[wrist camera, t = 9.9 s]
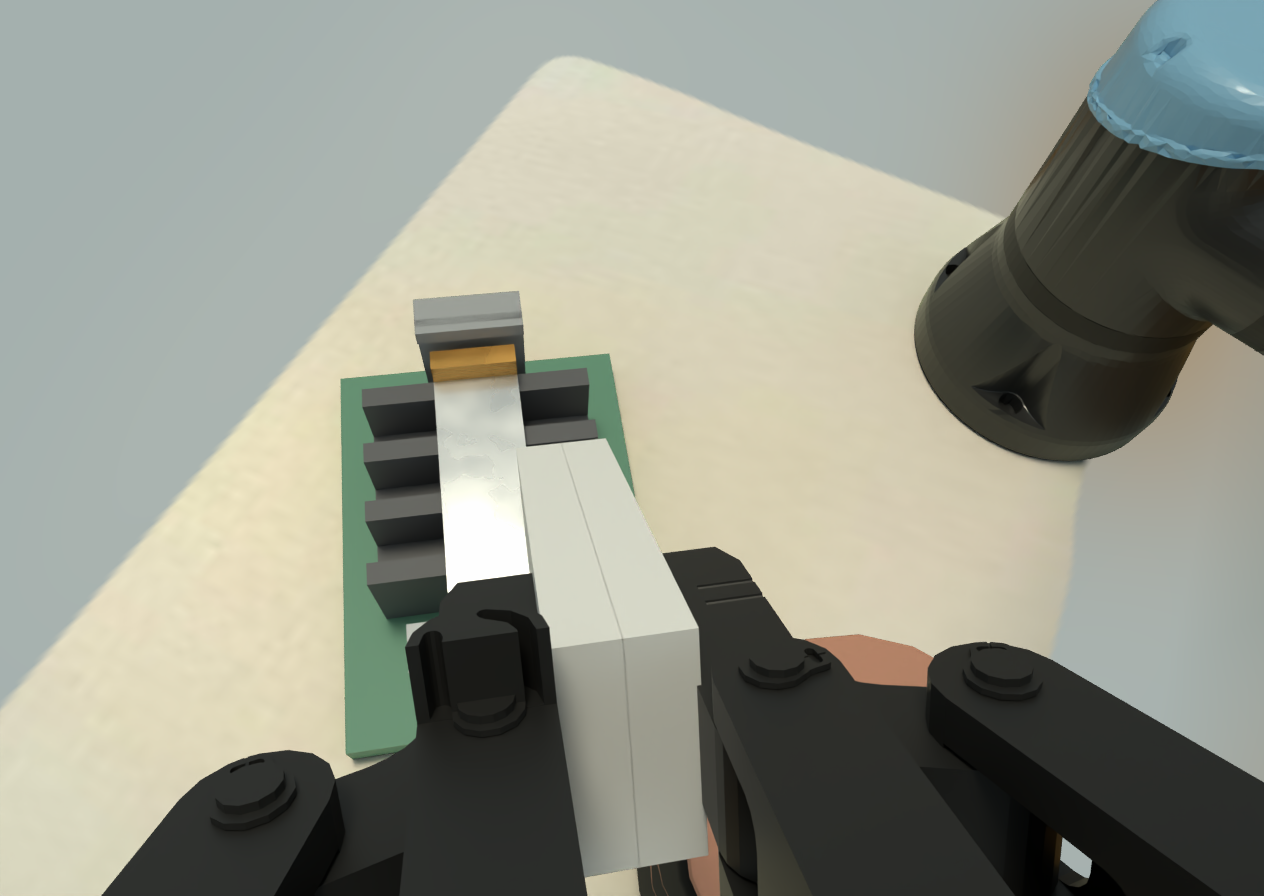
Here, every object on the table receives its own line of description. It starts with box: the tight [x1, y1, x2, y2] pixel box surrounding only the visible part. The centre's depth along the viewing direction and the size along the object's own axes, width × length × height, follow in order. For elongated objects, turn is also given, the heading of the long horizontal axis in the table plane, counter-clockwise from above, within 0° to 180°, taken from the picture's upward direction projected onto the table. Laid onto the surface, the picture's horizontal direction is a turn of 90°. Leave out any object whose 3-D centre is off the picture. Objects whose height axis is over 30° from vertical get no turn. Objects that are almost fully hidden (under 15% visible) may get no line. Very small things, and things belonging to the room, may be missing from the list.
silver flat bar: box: [430, 344, 529, 593], centre depth 40 cm, size 4×15×2 cm, turn 9°
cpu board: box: [341, 291, 635, 759], centre depth 42 cm, size 15×20×10 cm
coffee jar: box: [637, 634, 933, 896], centre depth 32 cm, size 11×11×18 cm
